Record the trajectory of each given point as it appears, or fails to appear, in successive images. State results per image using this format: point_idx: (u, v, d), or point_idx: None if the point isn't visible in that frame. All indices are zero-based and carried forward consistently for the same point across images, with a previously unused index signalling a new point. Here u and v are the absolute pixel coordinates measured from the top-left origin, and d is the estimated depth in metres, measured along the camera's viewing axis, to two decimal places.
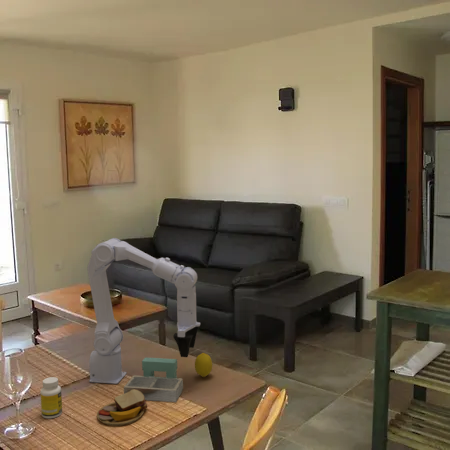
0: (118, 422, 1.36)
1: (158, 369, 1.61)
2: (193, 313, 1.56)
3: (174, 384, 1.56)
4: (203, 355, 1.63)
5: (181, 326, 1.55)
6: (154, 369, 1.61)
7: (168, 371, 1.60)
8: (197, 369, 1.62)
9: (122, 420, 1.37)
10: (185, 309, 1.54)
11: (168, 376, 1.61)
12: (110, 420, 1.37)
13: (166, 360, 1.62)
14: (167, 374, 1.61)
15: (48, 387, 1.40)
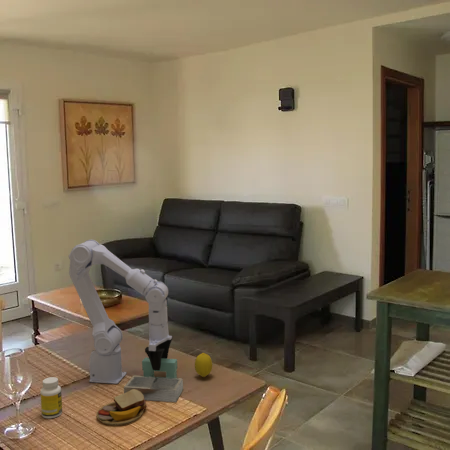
0: (118, 422, 1.36)
1: None
2: (164, 327, 1.59)
3: (174, 384, 1.56)
4: (203, 355, 1.63)
5: (153, 340, 1.58)
6: None
7: (168, 371, 1.60)
8: (197, 369, 1.62)
9: (122, 420, 1.37)
10: (157, 323, 1.58)
11: (168, 376, 1.61)
12: (110, 420, 1.37)
13: (166, 360, 1.62)
14: (167, 374, 1.61)
15: (48, 387, 1.40)
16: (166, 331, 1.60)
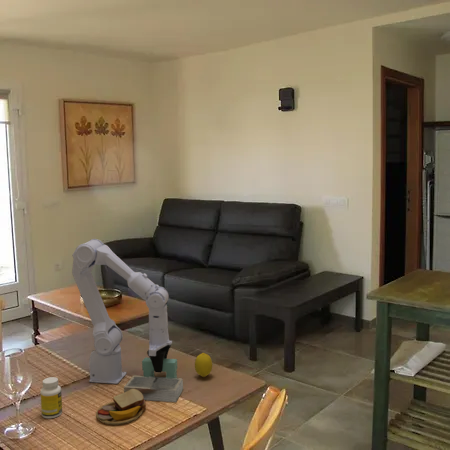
0: (118, 421, 1.36)
1: None
2: (165, 332, 1.59)
3: (174, 384, 1.56)
4: (203, 355, 1.63)
5: (153, 345, 1.59)
6: None
7: (168, 371, 1.60)
8: (197, 369, 1.62)
9: (121, 419, 1.37)
10: (157, 328, 1.58)
11: (168, 376, 1.61)
12: (109, 419, 1.38)
13: (166, 360, 1.62)
14: (167, 374, 1.61)
15: (48, 387, 1.40)
16: (166, 336, 1.60)
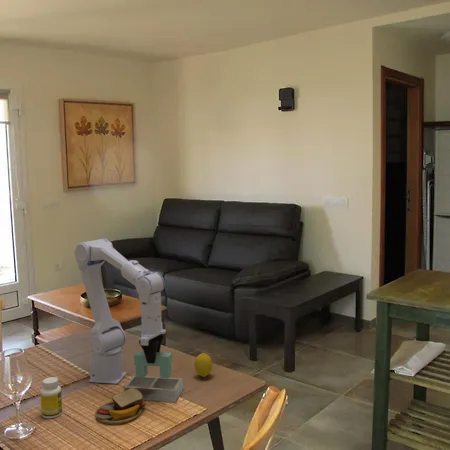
0: (117, 421, 1.36)
1: (151, 363, 1.51)
2: (158, 320, 1.49)
3: (174, 384, 1.56)
4: (203, 355, 1.63)
5: (145, 334, 1.48)
6: (147, 363, 1.51)
7: (162, 365, 1.50)
8: (197, 369, 1.62)
9: (121, 418, 1.37)
10: (145, 315, 1.48)
11: (162, 371, 1.50)
12: (109, 419, 1.38)
13: (160, 353, 1.52)
14: (161, 369, 1.50)
15: (48, 387, 1.40)
16: (159, 324, 1.49)
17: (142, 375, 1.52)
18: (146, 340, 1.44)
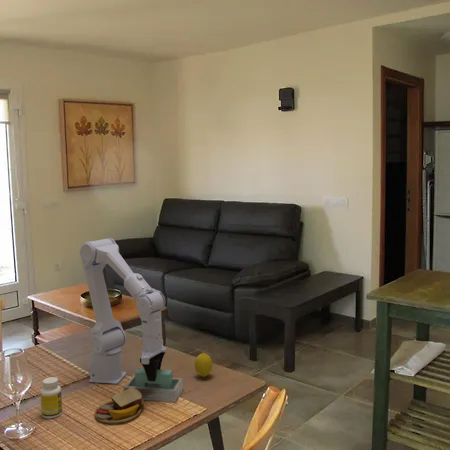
0: (117, 420, 1.37)
1: (152, 381, 1.51)
2: (158, 339, 1.49)
3: (174, 384, 1.56)
4: (203, 355, 1.63)
5: (146, 352, 1.49)
6: (148, 381, 1.52)
7: (163, 383, 1.51)
8: (197, 369, 1.62)
9: (121, 418, 1.38)
10: (145, 334, 1.48)
11: (163, 388, 1.51)
12: (109, 418, 1.38)
13: (161, 371, 1.53)
14: (162, 386, 1.51)
15: (48, 387, 1.40)
16: (160, 343, 1.50)
17: None
18: (147, 359, 1.44)
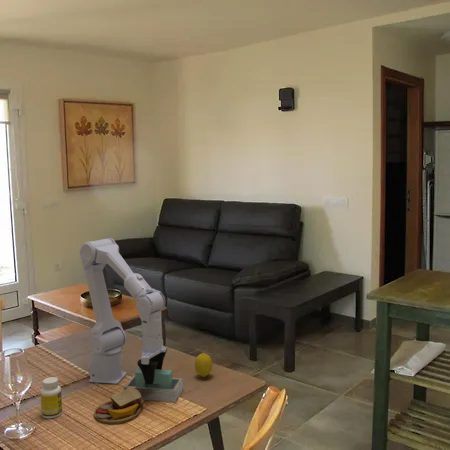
0: (117, 420, 1.37)
1: None
2: (158, 339, 1.49)
3: (174, 384, 1.56)
4: (203, 355, 1.63)
5: (146, 352, 1.49)
6: None
7: (163, 383, 1.51)
8: (197, 369, 1.62)
9: (120, 418, 1.38)
10: (145, 334, 1.48)
11: (163, 388, 1.51)
12: (108, 418, 1.38)
13: (161, 371, 1.53)
14: (162, 386, 1.51)
15: (48, 387, 1.40)
16: (160, 343, 1.50)
17: None
18: (147, 359, 1.45)
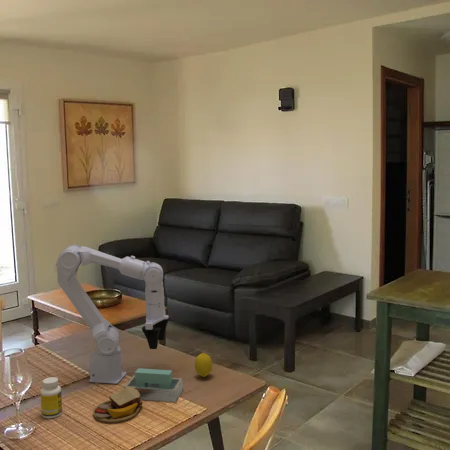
0: (116, 419, 1.37)
1: (152, 381, 1.51)
2: (161, 307, 1.61)
3: (174, 384, 1.56)
4: (203, 355, 1.63)
5: (149, 319, 1.61)
6: (148, 381, 1.52)
7: (163, 383, 1.51)
8: (197, 369, 1.62)
9: (120, 417, 1.38)
10: (155, 302, 1.60)
11: (163, 388, 1.51)
12: (107, 417, 1.39)
13: (161, 371, 1.53)
14: (162, 386, 1.51)
15: (48, 387, 1.40)
16: (163, 311, 1.62)
17: None
18: (150, 325, 1.56)
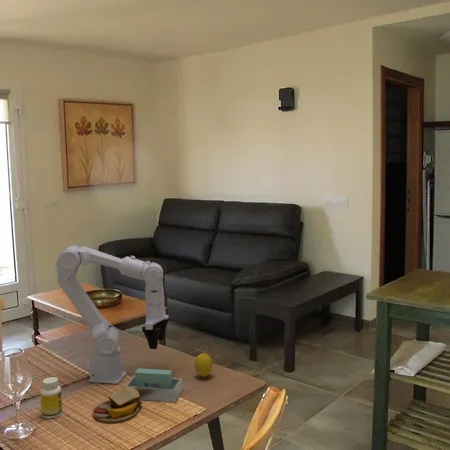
0: (116, 419, 1.37)
1: (152, 381, 1.51)
2: (161, 307, 1.61)
3: (174, 384, 1.56)
4: (203, 355, 1.63)
5: (149, 319, 1.61)
6: (148, 381, 1.52)
7: (163, 383, 1.51)
8: (197, 369, 1.62)
9: (119, 417, 1.38)
10: (155, 302, 1.60)
11: (163, 388, 1.51)
12: (107, 417, 1.39)
13: (161, 371, 1.53)
14: (162, 386, 1.51)
15: (48, 387, 1.40)
16: (163, 311, 1.62)
17: None
18: (150, 325, 1.56)
